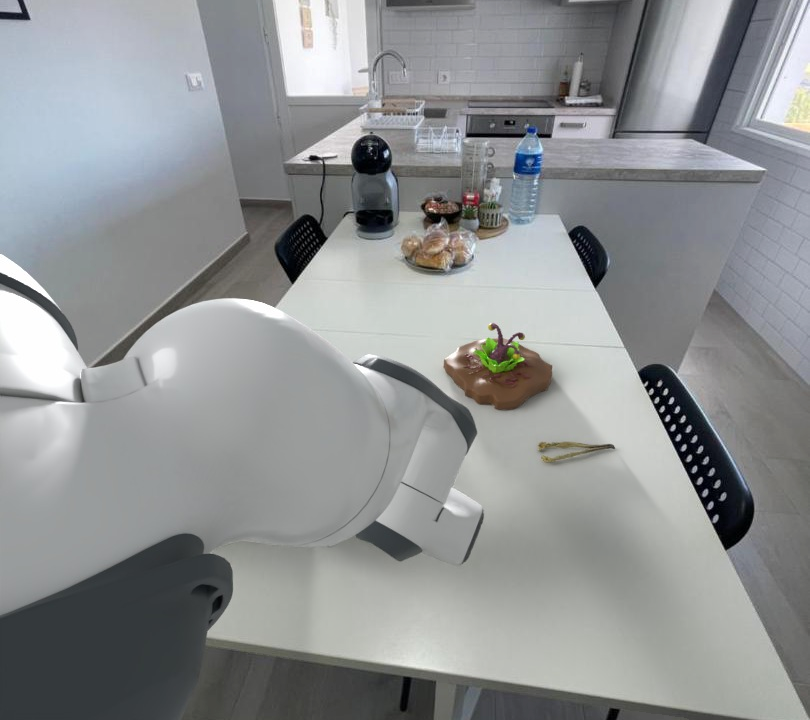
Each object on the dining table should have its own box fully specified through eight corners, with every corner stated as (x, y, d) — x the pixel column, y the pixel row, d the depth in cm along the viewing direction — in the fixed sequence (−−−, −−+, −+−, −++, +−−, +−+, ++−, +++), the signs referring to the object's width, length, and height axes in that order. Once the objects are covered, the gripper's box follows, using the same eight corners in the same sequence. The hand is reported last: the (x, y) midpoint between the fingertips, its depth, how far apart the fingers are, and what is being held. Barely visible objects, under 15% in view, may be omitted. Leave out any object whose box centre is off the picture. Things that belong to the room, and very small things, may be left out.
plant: (496, 337, 103) (502, 293, 96) (566, 379, 90) (578, 332, 83) (428, 368, 93) (429, 322, 87) (495, 420, 80) (502, 370, 74)
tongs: (618, 454, 73) (621, 446, 72) (543, 468, 72) (545, 460, 71) (604, 436, 77) (607, 428, 76) (533, 449, 75) (534, 441, 74)
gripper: (405, 420, 65) (331, 391, 71) (314, 527, 51) (231, 479, 57) (406, 450, 69) (336, 420, 75) (321, 558, 55) (243, 510, 61)
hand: (290, 446), depth 66 cm, fingers closed on soda can, 5 cm apart
